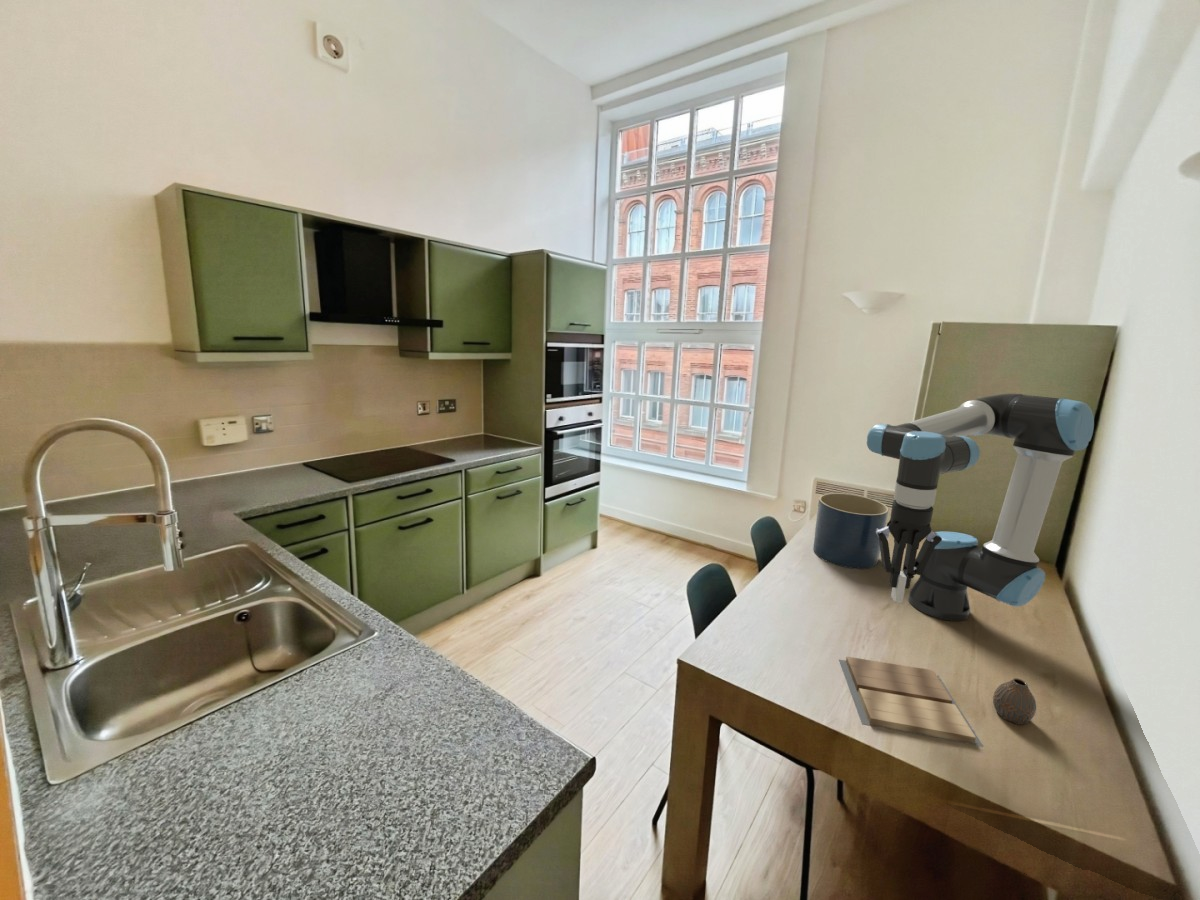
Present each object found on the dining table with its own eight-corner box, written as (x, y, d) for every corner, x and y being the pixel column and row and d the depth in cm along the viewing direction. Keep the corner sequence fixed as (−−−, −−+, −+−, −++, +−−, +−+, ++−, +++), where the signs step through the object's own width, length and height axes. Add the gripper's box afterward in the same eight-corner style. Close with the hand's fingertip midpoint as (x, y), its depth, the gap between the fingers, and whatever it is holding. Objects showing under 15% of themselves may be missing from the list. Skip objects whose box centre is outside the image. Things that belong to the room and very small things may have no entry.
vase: (981, 705, 108) (990, 671, 106) (1010, 704, 108) (1020, 670, 106) (1009, 730, 101) (1019, 694, 99) (1040, 729, 102) (1051, 693, 100)
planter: (805, 540, 191) (811, 491, 186) (865, 545, 188) (873, 495, 184) (821, 566, 170) (830, 512, 165) (889, 572, 167) (900, 517, 162)
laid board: (932, 675, 116) (933, 670, 116) (951, 706, 107) (952, 700, 106) (845, 661, 120) (846, 656, 120) (856, 690, 111) (857, 684, 110)
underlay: (938, 677, 116) (938, 675, 116) (983, 748, 97) (983, 746, 96) (838, 660, 121) (838, 659, 121) (861, 725, 101) (862, 724, 101)
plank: (953, 710, 106) (955, 704, 105) (974, 743, 97) (975, 737, 97) (857, 693, 110) (858, 688, 109) (869, 724, 101) (870, 718, 101)
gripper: (938, 499, 109) (921, 593, 115) (874, 495, 111) (860, 588, 117) (955, 511, 101) (935, 612, 108) (886, 507, 104) (870, 605, 110)
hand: (896, 599), depth 112 cm, fingers closed
